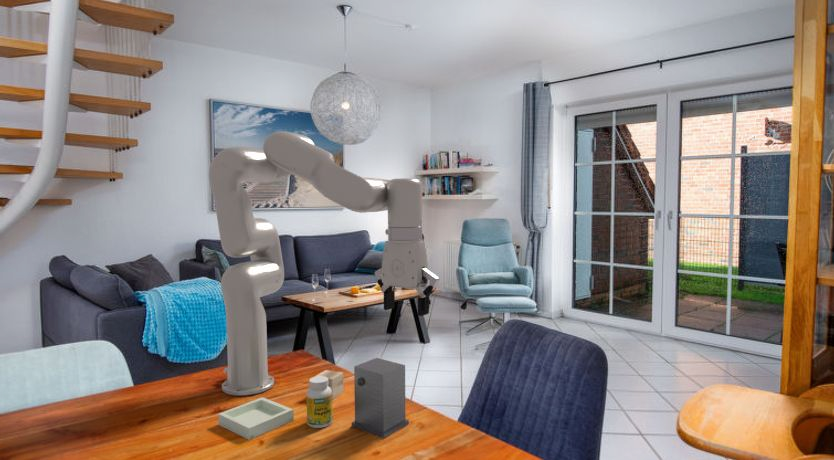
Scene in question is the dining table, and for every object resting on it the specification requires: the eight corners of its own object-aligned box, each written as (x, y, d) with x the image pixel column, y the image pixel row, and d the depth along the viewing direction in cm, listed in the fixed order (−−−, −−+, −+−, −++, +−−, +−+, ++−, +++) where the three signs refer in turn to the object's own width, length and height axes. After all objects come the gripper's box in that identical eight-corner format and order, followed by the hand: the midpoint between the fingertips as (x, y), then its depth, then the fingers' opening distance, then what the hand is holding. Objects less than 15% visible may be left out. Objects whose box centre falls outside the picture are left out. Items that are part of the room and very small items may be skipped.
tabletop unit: (351, 426, 107) (350, 366, 106) (377, 413, 113) (376, 356, 112) (383, 438, 101) (383, 375, 100) (408, 424, 108) (408, 365, 107)
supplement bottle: (326, 415, 112) (325, 372, 111) (336, 424, 107) (336, 380, 107) (303, 421, 109) (302, 378, 108) (312, 431, 104) (311, 385, 104)
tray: (218, 424, 107) (218, 413, 107) (262, 407, 116) (262, 397, 116) (249, 440, 101) (249, 428, 101) (293, 420, 110) (293, 409, 109)
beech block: (314, 396, 122) (314, 376, 122) (326, 389, 127) (325, 369, 127) (332, 400, 120) (332, 379, 120) (343, 392, 125) (343, 372, 125)
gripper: (364, 234, 114) (365, 309, 115) (426, 238, 103) (427, 320, 104) (386, 232, 120) (387, 304, 121) (447, 235, 109) (447, 313, 110)
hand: (405, 311), depth 113 cm, fingers open, 9 cm apart
